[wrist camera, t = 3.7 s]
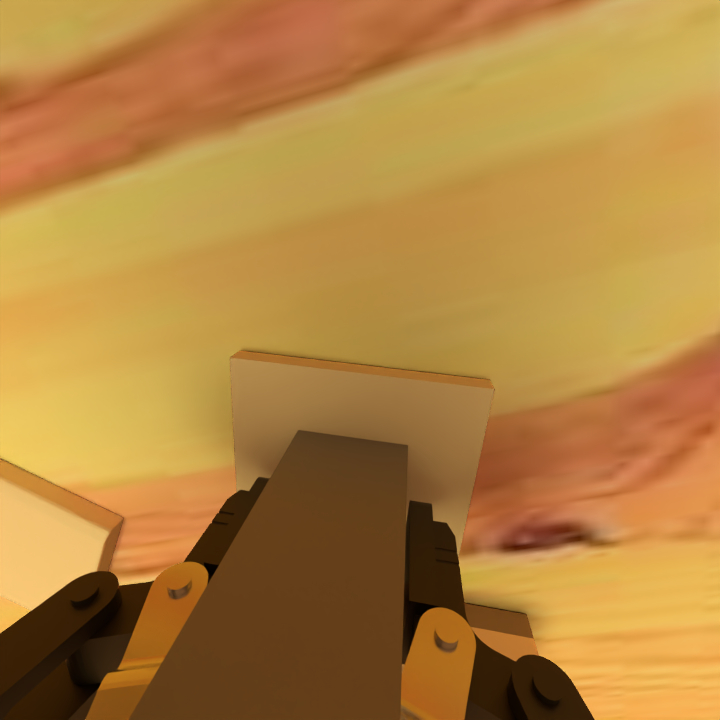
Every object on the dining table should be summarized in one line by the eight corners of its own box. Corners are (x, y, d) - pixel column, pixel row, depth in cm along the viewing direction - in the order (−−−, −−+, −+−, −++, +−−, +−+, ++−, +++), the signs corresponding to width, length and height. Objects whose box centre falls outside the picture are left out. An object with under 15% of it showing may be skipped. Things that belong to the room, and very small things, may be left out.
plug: (298, 429, 13) (102, 765, 5) (408, 444, 13) (397, 839, 5) (296, 516, 15) (140, 896, 6) (396, 533, 14) (370, 963, 6)
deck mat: (239, 350, 14) (229, 357, 13) (489, 379, 13) (494, 389, 12) (247, 539, 17) (239, 553, 16) (449, 574, 16) (451, 591, 15)
